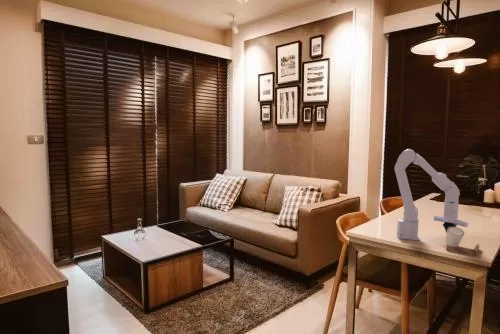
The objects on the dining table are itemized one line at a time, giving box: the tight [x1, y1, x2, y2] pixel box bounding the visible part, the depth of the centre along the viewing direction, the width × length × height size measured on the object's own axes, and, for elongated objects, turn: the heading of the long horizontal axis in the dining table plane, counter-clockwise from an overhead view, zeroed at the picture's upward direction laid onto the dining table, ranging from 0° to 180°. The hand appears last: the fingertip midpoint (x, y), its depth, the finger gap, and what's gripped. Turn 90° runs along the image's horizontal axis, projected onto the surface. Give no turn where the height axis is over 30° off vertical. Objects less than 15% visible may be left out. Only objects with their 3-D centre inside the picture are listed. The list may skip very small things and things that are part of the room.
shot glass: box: [445, 226, 465, 247], centre depth 156 cm, size 7×7×7 cm
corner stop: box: [446, 243, 480, 257], centre depth 147 cm, size 9×16×2 cm, turn 95°
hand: (449, 238), depth 160 cm, fingers closed, pressing on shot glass
